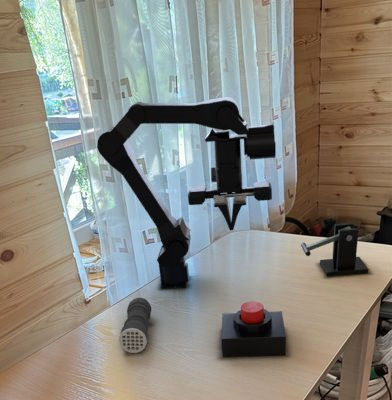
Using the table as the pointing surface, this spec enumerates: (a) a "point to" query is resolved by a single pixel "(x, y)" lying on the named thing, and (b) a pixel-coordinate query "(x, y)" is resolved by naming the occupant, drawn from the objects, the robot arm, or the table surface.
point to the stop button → (252, 312)
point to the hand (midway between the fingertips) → (231, 229)
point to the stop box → (253, 336)
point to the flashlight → (135, 326)
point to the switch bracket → (344, 254)
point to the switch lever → (320, 243)
